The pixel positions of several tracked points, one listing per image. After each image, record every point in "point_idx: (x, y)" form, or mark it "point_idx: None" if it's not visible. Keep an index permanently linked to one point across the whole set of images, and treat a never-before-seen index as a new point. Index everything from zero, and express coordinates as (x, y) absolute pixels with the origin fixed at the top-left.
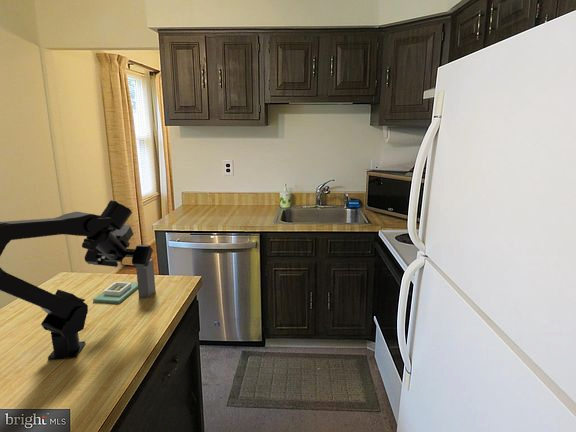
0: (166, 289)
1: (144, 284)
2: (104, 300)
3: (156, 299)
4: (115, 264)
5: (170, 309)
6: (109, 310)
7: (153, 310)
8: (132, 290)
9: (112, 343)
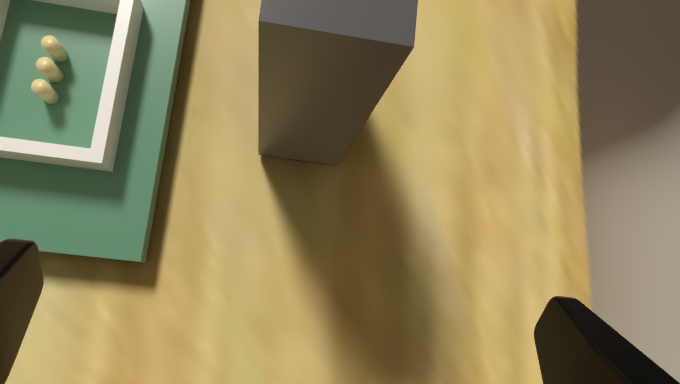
0: None
1: (326, 131)
2: None
3: (398, 184)
4: (5, 334)
5: None
6: (108, 368)
7: (440, 355)
8: (175, 66)
9: None
